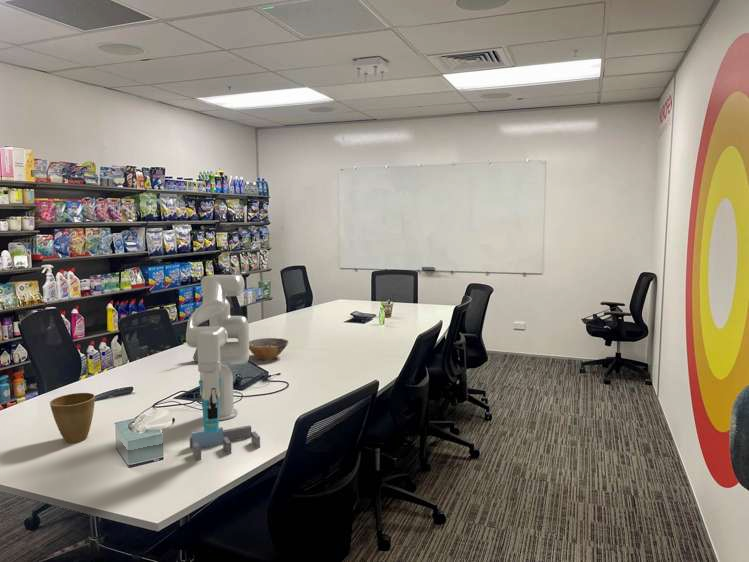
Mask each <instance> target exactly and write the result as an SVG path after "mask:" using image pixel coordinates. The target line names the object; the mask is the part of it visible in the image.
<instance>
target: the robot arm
mask: <svg viewBox="0 0 749 562" xmlns="http://www.w3.org/2000/svg"><path fill="white" fill-rule="evenodd" d="M245 285H246V284H245V280H244V277H243V276H242V275H241V274H212V275H211V274H210V275H206V276H203V277H202V278H201V280H200V286H201V290H202V293H203V294H202V304H201V305H200V306H198V307H197V308H196V309H195V310H194V311H193V312H192V313H191V315H190V316H189V318H188V321H187V325H186V331H185V343H186V344H187V345H188V347H190V348H195V349H196V348H198V363H197V366H198V367H197V368H198V372H199V380H201V382H202V397H203V399H204V400H205V401H207V400H208V407H209V408H208V419H209V420H210V419H216V418H218V415H217V399H218V398H219V379H218V378H221V385H220V400H219V421H224V420H229V419H232V418H233V419H234V418H235V417H236V416H238V409H236V408H235V407H234V378H233V372H232V370H231V369H230V368H229V366H228V365H243V364H247V363H248V362H249V360H250V359H249V358H250V350H249V341H250V334H249V333H250V332H249V331H250V329H249V321H248V319H247V317H246V316H244V315H231V304H230V302H229V301H228V299H227V298H226V297H239V296H242V294H243V293H244V291H245ZM206 321H209V326H206V325H205V326H199V325H201V324H202V323H204V322H206ZM228 339H236V340H238V341H228ZM199 394H200V396H201V391H200V390H199ZM216 395H217V396H216ZM211 397H212V399H210V398H211ZM210 401H212V402H211V403H210Z"/></svg>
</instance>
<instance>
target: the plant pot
mask: <svg viewBox="0 0 749 562" xmlns="http://www.w3.org/2000/svg"><path fill="white" fill-rule="evenodd" d="M95 399H96V395H95V394H94V393H91V392H76V393H69V394H65V395H61V396H58V397H55V398H53V399H51V400H50V402H49V406H50V409H51V412H52V417H53V419H54V422H55V424H56V426H57V430H58V432H59V433H60V436H61V437H62V439H63V441H64V442H65V443H67V444H76V443H81V442H83V441H85V440H87V439H88V436H89V432H90V429H91V425H92V421H93V417H94V416H93V415H94V410H95V401H96V400H95Z"/></svg>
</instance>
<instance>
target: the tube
mask: <svg viewBox="0 0 749 562" xmlns="http://www.w3.org/2000/svg"><path fill="white" fill-rule="evenodd" d="M218 379H219V398H218V399H217V415H218V418H216V419H210V420H209V419H208V408H209V407H208V400H207V401H205V400H204V399H203V397H202V382H201V380H200V379H199V380H198V385H199V392H200V391H201V395H200V398H201V406H202V407H201V408H202V409H201V410H202V418H203V430H204V433H206V434H214V433H217V432H218V431H219V425H220V422H219V421H220V420H219V400H220V385H221V378H218ZM216 396H217V395H216ZM210 399H212V397H211V398H210ZM211 402H212V401H210V403H211Z"/></svg>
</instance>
